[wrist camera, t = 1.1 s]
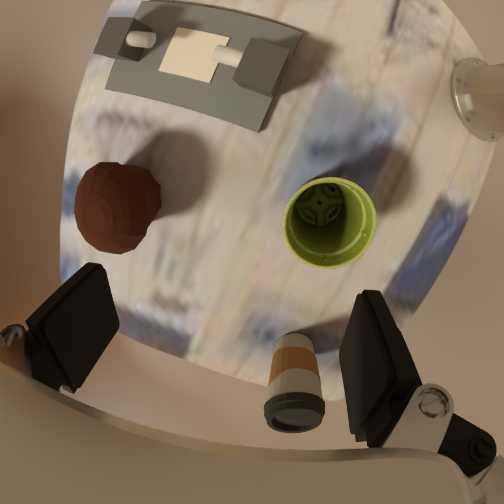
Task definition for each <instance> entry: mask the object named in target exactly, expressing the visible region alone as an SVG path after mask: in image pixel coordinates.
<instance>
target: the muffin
mask: <svg viewBox="0 0 504 504" xmlns="http://www.w3.org/2000/svg"><path fill="white" fill-rule="evenodd" d="M160 208H161V199H160V185H159V184H158V183H157V182H156V181H155V179H154V178H153V176H152V175H151V173H150V171H149V170H146V169H141V168H138V167H136V166H134V165H121V164H119V163H118V162H99V163H98V164H96V165H95V166H93V167H92V168H90V169H89V170H87V171H86V172H85V174H84V176H83V178H82V179H81V181H80V183H79V185H78V187H77V192H76V197H75V208H74V214H75V218H76V222H77V226H78V229H79V231H80V232H81V234H82V236H83V237H84V239H85V240H86V242H88V243H89V244H90V245H92V246H93V247H94V248H96V249H97V250H99V251H102V252H107V253H113V254H123V253H126V252H128V251H131V250H134V249H135V248H136V247H137V246H138V244H139V243H140V242H141V241H142V239H143V238H144V237H145V235H146V232H147V228H148V227H149V225H150V224H151V222H152V221H153V219H154V217H155V214H156V213H157V212H158V210H159V209H160Z"/></svg>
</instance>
